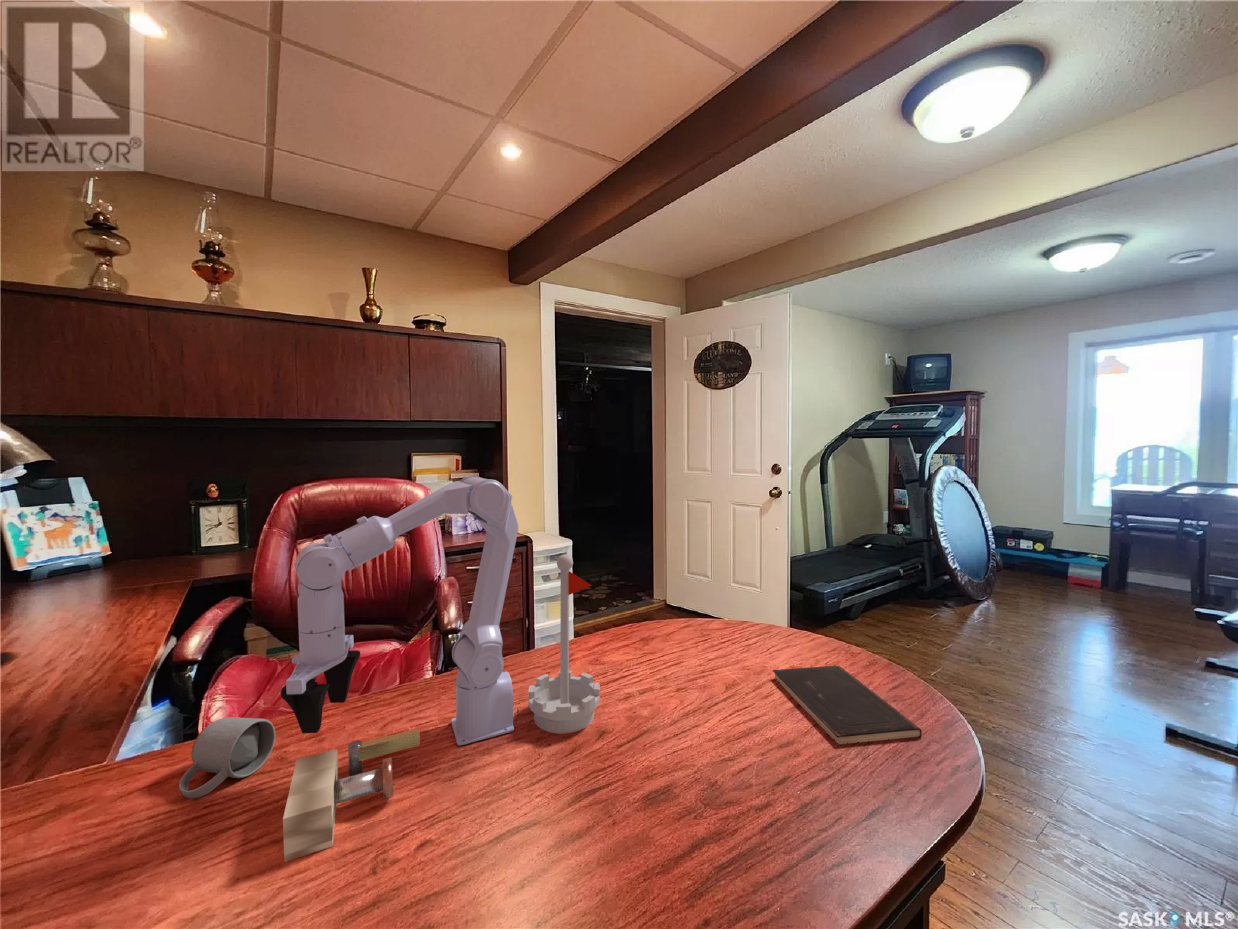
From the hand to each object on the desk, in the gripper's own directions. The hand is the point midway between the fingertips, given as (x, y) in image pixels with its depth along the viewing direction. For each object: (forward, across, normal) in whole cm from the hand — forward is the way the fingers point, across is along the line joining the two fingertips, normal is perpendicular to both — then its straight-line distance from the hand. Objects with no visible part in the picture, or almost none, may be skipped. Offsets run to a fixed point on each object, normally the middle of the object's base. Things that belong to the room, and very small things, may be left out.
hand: (325, 716), depth 72 cm
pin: (+9, +6, +7) cm, 13 cm away
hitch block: (+10, +8, +2) cm, 13 cm away
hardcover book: (+11, -15, +87) cm, 89 cm away
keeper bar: (+10, -3, +7) cm, 13 cm away
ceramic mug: (+10, -2, -16) cm, 19 cm away
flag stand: (+10, -15, +34) cm, 39 cm away
